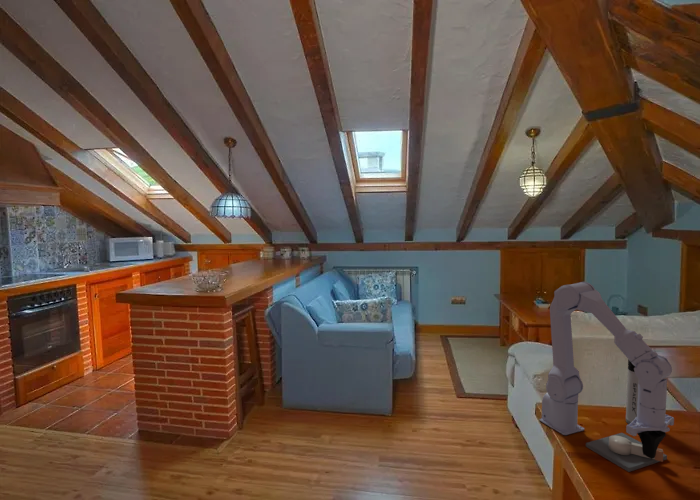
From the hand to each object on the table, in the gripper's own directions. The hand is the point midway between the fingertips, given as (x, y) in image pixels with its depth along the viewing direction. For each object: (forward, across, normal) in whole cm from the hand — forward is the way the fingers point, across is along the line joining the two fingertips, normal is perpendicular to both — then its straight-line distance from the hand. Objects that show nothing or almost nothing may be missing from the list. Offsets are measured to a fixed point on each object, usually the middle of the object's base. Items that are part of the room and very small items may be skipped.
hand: (648, 456), depth 102 cm
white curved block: (+1, 0, +3) cm, 3 cm away
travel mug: (+3, +18, +15) cm, 23 cm away
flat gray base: (+2, 0, +6) cm, 6 cm away
